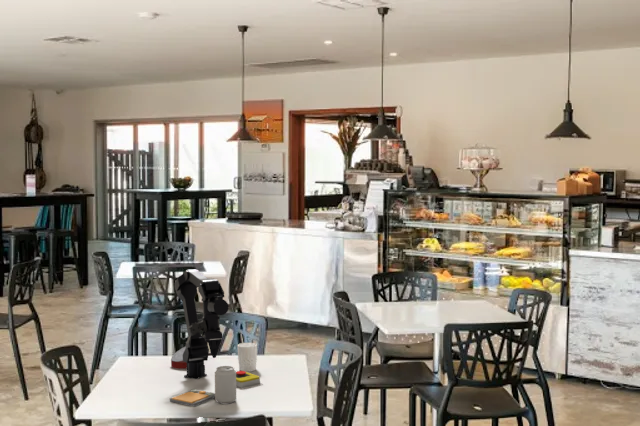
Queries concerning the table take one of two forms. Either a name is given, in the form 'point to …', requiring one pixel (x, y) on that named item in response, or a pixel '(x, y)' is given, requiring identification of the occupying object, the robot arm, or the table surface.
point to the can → (225, 384)
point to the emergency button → (247, 380)
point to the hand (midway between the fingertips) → (213, 356)
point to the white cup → (247, 356)
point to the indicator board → (193, 397)
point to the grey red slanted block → (178, 359)
